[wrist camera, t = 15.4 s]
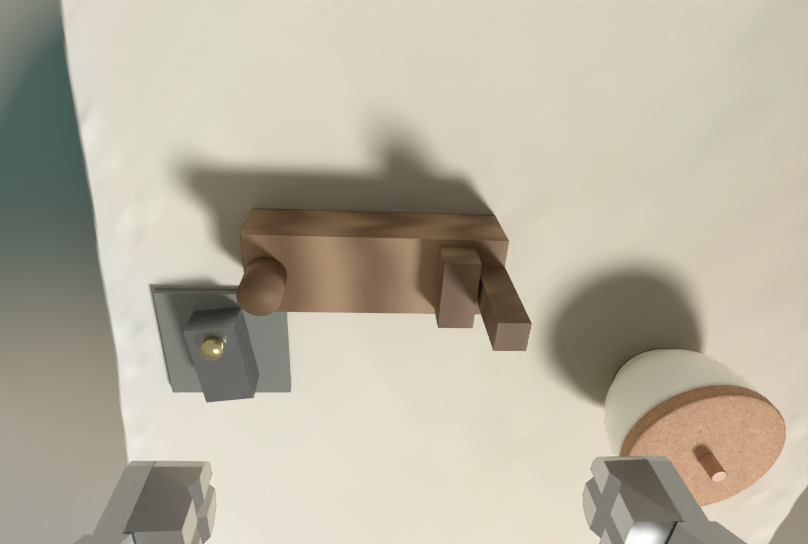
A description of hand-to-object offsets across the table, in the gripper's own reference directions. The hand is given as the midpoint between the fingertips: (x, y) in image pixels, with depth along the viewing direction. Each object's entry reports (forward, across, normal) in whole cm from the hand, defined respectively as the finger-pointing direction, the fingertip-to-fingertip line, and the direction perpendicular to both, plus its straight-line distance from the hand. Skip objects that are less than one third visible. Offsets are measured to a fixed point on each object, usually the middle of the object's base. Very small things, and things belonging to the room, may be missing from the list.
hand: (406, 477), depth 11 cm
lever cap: (+28, -12, -18) cm, 36 cm away
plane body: (+29, 0, -9) cm, 30 cm away
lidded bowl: (+29, +26, -22) cm, 45 cm away
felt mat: (+29, -12, -18) cm, 36 cm away
